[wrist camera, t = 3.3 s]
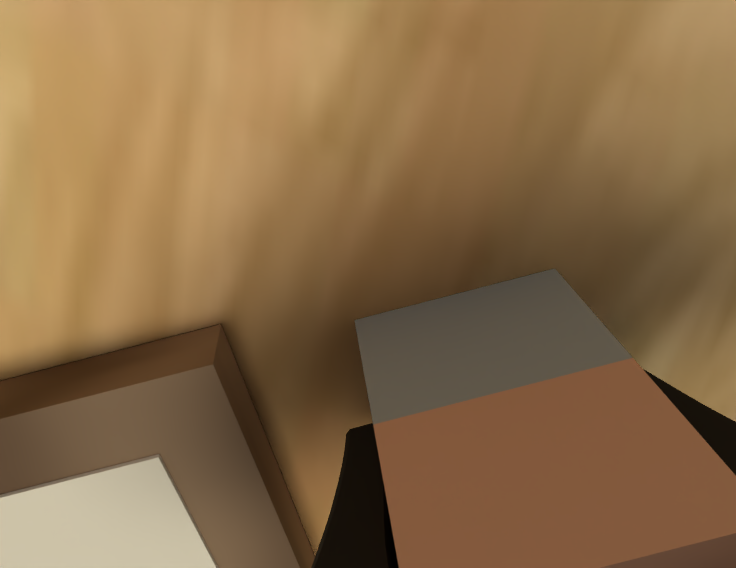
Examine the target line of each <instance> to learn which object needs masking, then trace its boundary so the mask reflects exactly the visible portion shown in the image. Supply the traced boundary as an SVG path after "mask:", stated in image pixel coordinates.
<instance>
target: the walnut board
mask: <svg viewBox="0 0 736 568" xmlns="http://www.w3.org/2000/svg"><path fill="white" fill-rule="evenodd" d="M314 559H315V556H314V553H313V551H312V548H311V546H310V543H309V541H308V538H307V536H306V533H305V531H304V528H303V526H302V524H301V521H300V519H299V516H298V514H297V511H296V509H295V506H294V504H293V501H292V499H291V496H290V494H289V491H288V489H287V486H286V484H285V482H284V479H283V477H282V474H281V472H280V469H279V467H278V464H277V462H276V459H275V457H274V454H273V452H272V449H271V447H270V444H269V442H268V440H267V437H266V435H265V432H264V430H263V427H262V425H261V422H260V420H259V417H258V415H257V412H256V410H255V407H254V405H253V402H252V400H251V398H250V395H249V393H248V390H247V388H246V385H245V383H244V380H243V378H242V375H241V373H240V370H239V368H238V365H237V363H236V360H235V358H234V356H233V353H232V351H231V348H230V346H229V343H228V341H227V338H226V336H225V333H224V331H223V328H222V326H221V324H220V325H216V326H212V327H208V328H204V329H200V330H197V331H193V332H189V333H185V334H181V335H177V336H173V337H169V338H166V339H162V340H158V341H154V342H150V343H146V344H142V345H138V346H134V347H131V348H127V349H123V350H119V351H115V352H111V353H107V354H103V355H100V356H96V357H92V358H88V359H84V360H80V361H76V362H72V363H69V364H65V365H61V366H57V367H53V368H49V369H45V370H41V371H37V372H34V373H30V374H26V375H22V376H18V377H14V378H10V379H6V380H3V381H0V568H311V567H312V564H313V561H314Z"/></svg>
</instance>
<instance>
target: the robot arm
mask: <svg viewBox="0 0 736 568" xmlns="http://www.w3.org/2000/svg"><path fill="white" fill-rule="evenodd" d="M643 370H644V369H643ZM644 371H645V372H646V373H647V375H648V376H649V377H650V378H651V379H652V380H653V381H654V383H655V384H656V385H657V386H658V387H659V388H660V389H661V391H662V392H663V393H664V394H665V395H666V396H667V397H668V399H669V400H670V401H671V402H672V403H673V404H674V405H675V407H676V408H677V409H678V410H679V411H680V412H681V413H682V415H683V416H684V417H685V418H686V419H687V420H688V421H689V423H690V424H691V425H692V426H693V427H694V428H695V430H696V431H697V432H698V433H699V434H700V435H701V436H702V438H703V439H704V440H705V441H706V442H707V443H708V444H709V446H710V447H711V448H712V449H713V450H714V451H715V452H716V454H717V455H718V456H719V457H720V458H721V459H722V460H723V462H724V463H725V464H726V465H727V466H728V467H729V468H730V470H731V471H732V472H733V473H734V474H735V475H736V422H735V421H733V420H731V419H729V418H727V417H725V416H723V415H722V414H720V413H718V412H716V411H714V410H712V409H711V408H709V407H707V406H705V405H703V404H702V403H700V402H698V401H696V400H695V399H693V398H691V397H689V396H688V395H686V394H684V393H682V392H681V391H679V390H677V389H676V388H674V387H672V386H671V385H669V384H667V383H666V382H664V381H662V380H661V379H659V378H657V377H656V376H654V375H652V374H651V373H649V372H647V371H646V370H644ZM311 568H399V566H398V560H397V554H396V549H395V543H394V538H393V532H392V527H391V521H390V515H389V510H388V504H387V499H386V493H385V488H384V482H383V477H382V471H381V465H380V460H379V454H378V449H377V443H376V438H375V432H374V426H373V423H372V424H368V425H364V426H360V427H356V428H353V429H350V430H349V431H348V433H347V434H346V443H345V451H344V457H343V463H342V468H341V472H340V477H339V482H338V485H337V489H336V493H335V497H334V500H333V504H332V508H331V512H330V515H329V518H328V521H327V524H326V527H325V530H324V533H323V536H322V539H321V542H320V545H319V548H318V551H317V554H316V556H315V559H314V561H313V564H312V567H311Z"/></svg>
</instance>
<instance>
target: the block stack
mask: <svg viewBox="0 0 736 568" xmlns="http://www.w3.org/2000/svg"><path fill="white" fill-rule="evenodd" d="M354 321H355V326H356V332H357V337H358V343H359V348H360V354H361V360H362V365H363V371H364V376H365V382H366V387H367V393H368V399H369V404H370V410H371V415H372V421H373V426H374V432H375V438H376V443H377V449H378V454H379V460H380V465H381V471H382V477H383V482H384V488H385V493H386V499H387V504H388V510H389V515H390V521H391V527H392V532H393V538H394V543H395V549H396V554H397V560H398V566H399V568H736V475H735V474H734V473H733V472H732V471H731V470H730V468H729V467H728V466H727V465H726V464H725V463H724V462H723V460H722V459H721V458H720V457H719V456H718V455H717V454H716V452H715V451H714V450H713V449H712V448H711V447H710V446H709V444H708V443H707V442H706V441H705V440H704V439H703V438H702V436H701V435H700V434H699V433H698V432H697V431H696V430H695V428H694V427H693V426H692V425H691V424H690V423H689V421H688V420H687V419H686V418H685V417H684V416H683V415H682V413H681V412H680V411H679V410H678V409H677V408H676V407H675V405H674V404H673V403H672V402H671V401H670V400H669V399H668V397H667V396H666V395H665V394H664V393H663V392H662V391H661V389H660V388H659V387H658V386H657V385H656V384H655V383H654V381H653V380H652V379H651V378H650V377H649V376H648V375H647V373H646V372H645V371H644V370H643V369H642V368H641V367H640V365H639V364H638V363H637V362H636V361H635V360H634V359H633V357H632V356H631V355H630V354H629V353H628V352H627V350H626V349H625V348H624V347H623V346H622V345H621V344H620V342H619V341H618V340H617V339H616V338H615V337H614V336H613V334H612V333H611V332H610V331H609V330H608V329H607V328H606V326H605V325H604V324H603V323H602V322H601V321H600V320H599V318H598V317H597V316H596V315H595V314H594V313H593V312H592V310H591V309H590V308H589V307H588V306H587V305H586V304H585V302H584V301H583V300H582V299H581V298H580V297H579V296H578V294H577V293H576V292H575V291H574V290H573V289H572V288H571V286H570V285H569V284H568V283H567V282H566V281H565V279H564V278H563V277H562V276H561V275H560V274H559V273H558V271H557V270H556V269H551V270H547V271H543V272H539V273H535V274H531V275H528V276H524V277H520V278H516V279H512V280H508V281H504V282H500V283H497V284H493V285H489V286H485V287H481V288H477V289H473V290H469V291H466V292H462V293H458V294H454V295H450V296H446V297H442V298H438V299H435V300H431V301H427V302H423V303H419V304H415V305H411V306H407V307H404V308H400V309H396V310H392V311H388V312H384V313H380V314H376V315H373V316H369V317H365V318H361V319H357V320H354Z"/></svg>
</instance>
